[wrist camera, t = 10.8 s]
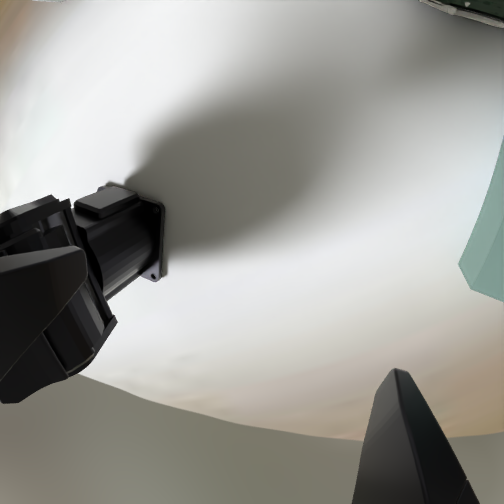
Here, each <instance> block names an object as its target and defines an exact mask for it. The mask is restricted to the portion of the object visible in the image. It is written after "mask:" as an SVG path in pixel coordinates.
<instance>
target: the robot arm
mask: <svg viewBox="0 0 504 504" xmlns="http://www.w3.org/2000/svg"><path fill="white" fill-rule="evenodd" d="M156 207H157V208H158V210H159V212H158V211H157V210H156ZM164 215H165V208H164V205H163V204H162V203H160V202H157V201H154V200H151V199H148V198H144V197H141V196H140V195H139V194H138V193H136V192H133V191H130V190H126V189H123V188H119V187H116V186H112V187H108V186H101V187H99V188H98V190H97V192H96V193H93V194H91V195H88V196H85V197H83V198H80V199H78V200H76V201H75V202H74V208H72V209H71V203H70V199H69V198H68V199H66V200H63V201H61V202H60V201H59V199H56V198H55V197H54V196H52V195H49V196H46V197H43V198H41V199H38V200H36V201H33V202H30V203H27V204H24V205H21V206H18V207H15V208H12V209H9V210H7V211H5V212H3V213H1V214H0V402H1V403H3V404H6V403H7V404H8V403H19V402H21V401H22V400H24V399H25V398H27V397H28V396H30V395H31V394H33V393H34V392H36V391H38V390H39V389H41V388H43V387H45V386H48V385H50V384H52V383H55V382H59V381H63V380H66V379H67V378H68V377H71V376H73V375H75V374H77V373H79V372H81V371H82V370H83V369H85V368H86V367H87V366H88V365H89V364H90V363H91V362H92V361H93V359H94V358H95V356H96V355H97V353H98V352H99V350H100V349H101V347H102V346H103V344H104V342H105V341H106V339H107V338H108V336H109V335H110V333H111V332H112V330H113V329H114V327H115V326H116V324H117V323H118V322H117V320H116V317H115V315H113V314H112V312H111V310H110V308H109V305H108V303H107V301H108V300H109V299H111V298H112V297H113V296H114V295H116V294H117V293H118V292H120V291H121V290H122V289H123V288H125V287H126V286H127V285H129V284H130V283H131V282H132V281H134V280H135V279H136V278H138V277H139V276H142V277H144V278H146V279H148V280H151V281H153V282H157V281H158V280H160V279H161V273H162V249H163V230H164ZM154 274H155V275H154ZM466 479H467V477H466V475H465V473H464V471H463V469H462V467H461V465H460V463H459V461H458V459H457V457H456V455H455V453H454V451H453V450H452V448H451V446H450V444H449V442H448V440H447V438H446V436H445V435H444V433H443V431H442V429H441V427H440V425H439V424H438V422H437V420H436V418H435V416H434V415H433V413H432V411H431V409H430V408H429V406H428V404H427V402H426V401H425V399H424V397H423V396H422V394H421V392H420V390H419V389H418V387H417V385H416V384H415V382H414V380H413V379H412V377H411V375H410V374H409V372H407V371H405V370H401V369H397V368H394V369H392V370H391V371H390V372H389V374H388V375H387V377H386V378H385V379H384V381H383V382H382V384H381V385H380V386H379V388H378V390H377V392H376V394H375V398H374V402H373V407H372V411H371V415H370V419H369V423H368V427H367V431H366V435H365V439H364V443H363V447H362V452H361V458H360V464H359V470H358V475H357V480H356V485H355V490H354V495H353V500H352V504H480V503H479V501H478V499H477V497H476V495H475V493H474V491H473V489H472V487H471V485H470V483H469V481H468V480H466Z"/></svg>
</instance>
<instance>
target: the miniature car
mask: <svg viewBox="0 0 504 504" xmlns="http://www.w3.org/2000/svg"><path fill="white" fill-rule="evenodd" d="M419 1H420V2H423V3H425V4H428V5H430V6H432V7H435V8H437V9H439V10H441V11H444V12H446V13H448V14H451V15H459V16H462V17H466V18H470V19H473V20H476V21H480V22H483V23H486V24H489V25H492V26H496V27H500V28H504V23H502V22H499V21H496V20H493V19H490V18H486V17H483V16H480V15H476V14H473V13H469V12H465V11H461V10H457V9H456V8H454V7H458V8H462V9H466V10H469V11H473V12H477V13H480V14H484V15H487V16H490V17H493V18H496V19H499V20H502V21H504V0H419ZM452 6H453V7H452Z"/></svg>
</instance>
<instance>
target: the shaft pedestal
mask: <svg viewBox="0 0 504 504" xmlns="http://www.w3.org/2000/svg"><path fill="white" fill-rule="evenodd" d="M458 265H459V267H460V269H461V271H462V273H463V275H464V277H465V279H466V281H467V283H468V285H469V287H470V289H471V290H474V291H477V292H479V293H482V294H484V295H487V296H489V297H492V298H494V299H497V300H499V301H502V302H504V137H503V141H502V145H501V149H500V153H499V157H498V160H497V164H496V167H495V170H494V174H493V177H492V180H491V183H490V186H489V189H488V192H487V195H486V198H485V201H484V203H483V206H482V209H481V211H480V214H479V217H478V219H477V222H476V224H475V227H474V229H473V232H472V234H471V237H470V239H469V241H468V244H467V246H466V248H465V250H464V253H463V255H462V257H461V259H460V261H459V263H458Z"/></svg>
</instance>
